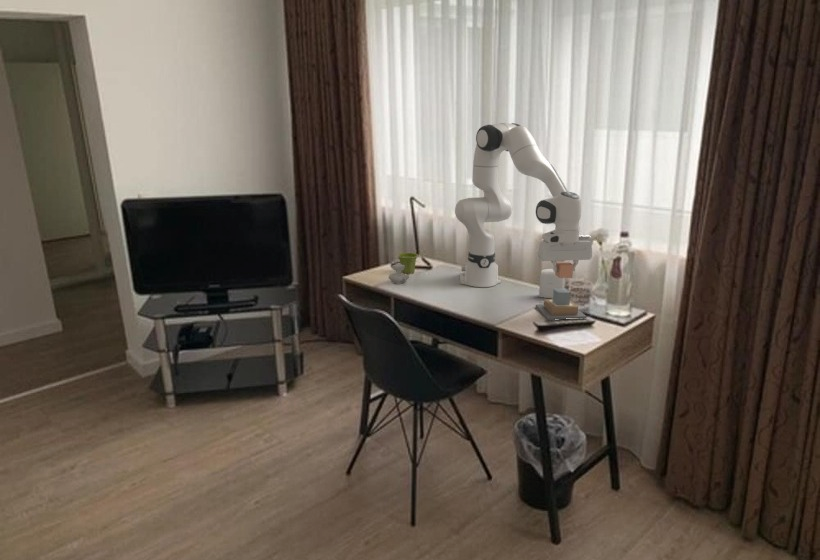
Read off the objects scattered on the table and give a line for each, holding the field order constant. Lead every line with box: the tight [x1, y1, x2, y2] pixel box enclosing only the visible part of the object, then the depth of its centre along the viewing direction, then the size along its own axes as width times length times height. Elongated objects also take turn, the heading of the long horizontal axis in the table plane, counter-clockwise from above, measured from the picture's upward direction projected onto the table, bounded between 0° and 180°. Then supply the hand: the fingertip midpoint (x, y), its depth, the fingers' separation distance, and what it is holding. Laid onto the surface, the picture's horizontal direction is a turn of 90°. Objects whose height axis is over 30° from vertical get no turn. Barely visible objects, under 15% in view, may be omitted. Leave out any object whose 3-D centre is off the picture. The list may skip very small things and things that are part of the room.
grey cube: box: [553, 287, 571, 305], centre depth 232 cm, size 5×5×5 cm
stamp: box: [388, 263, 410, 285], centre depth 270 cm, size 9×7×8 cm
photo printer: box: [538, 268, 566, 299], centre depth 250 cm, size 10×4×12 cm, turn 66°
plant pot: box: [397, 252, 419, 275], centre depth 285 cm, size 9×9×9 cm
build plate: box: [535, 298, 587, 321], centre depth 233 cm, size 15×15×4 cm
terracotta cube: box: [555, 261, 574, 279], centre depth 228 cm, size 5×5×5 cm
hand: (563, 271), depth 229 cm, fingers closed on terracotta cube, 5 cm apart
